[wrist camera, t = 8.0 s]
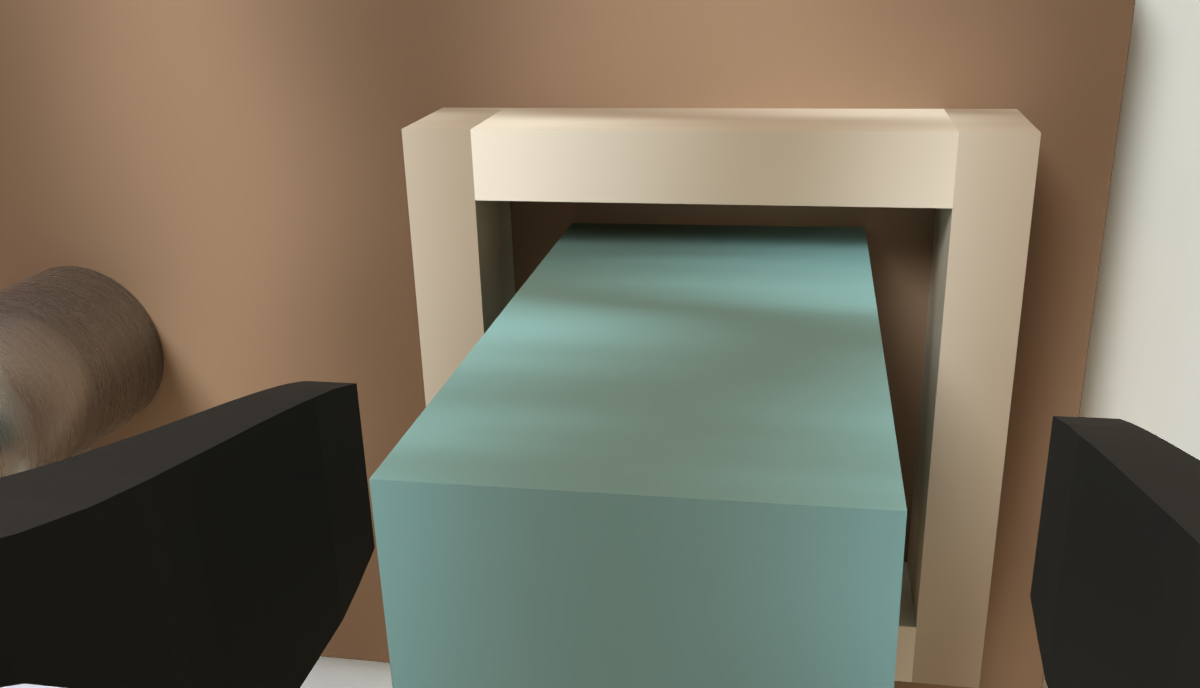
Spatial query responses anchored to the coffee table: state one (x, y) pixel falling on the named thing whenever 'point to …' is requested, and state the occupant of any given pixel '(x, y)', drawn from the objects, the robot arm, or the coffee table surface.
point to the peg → (656, 475)
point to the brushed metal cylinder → (71, 364)
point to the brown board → (592, 212)
